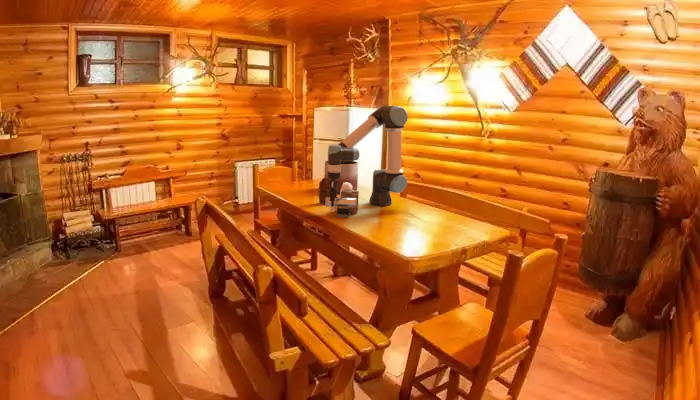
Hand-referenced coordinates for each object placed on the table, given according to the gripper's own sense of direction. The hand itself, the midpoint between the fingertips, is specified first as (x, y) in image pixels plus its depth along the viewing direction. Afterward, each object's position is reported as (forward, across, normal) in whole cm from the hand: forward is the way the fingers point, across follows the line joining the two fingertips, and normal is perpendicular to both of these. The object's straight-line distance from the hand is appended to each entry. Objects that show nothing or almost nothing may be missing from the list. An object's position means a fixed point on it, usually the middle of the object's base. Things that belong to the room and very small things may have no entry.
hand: (333, 210), depth 258 cm
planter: (+3, -74, -4) cm, 74 cm away
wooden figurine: (+3, -30, -7) cm, 31 cm away
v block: (+3, 0, +6) cm, 7 cm away
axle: (-2, 0, +5) cm, 5 cm away
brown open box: (+3, -11, +9) cm, 14 cm away
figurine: (+3, -45, +3) cm, 45 cm away
